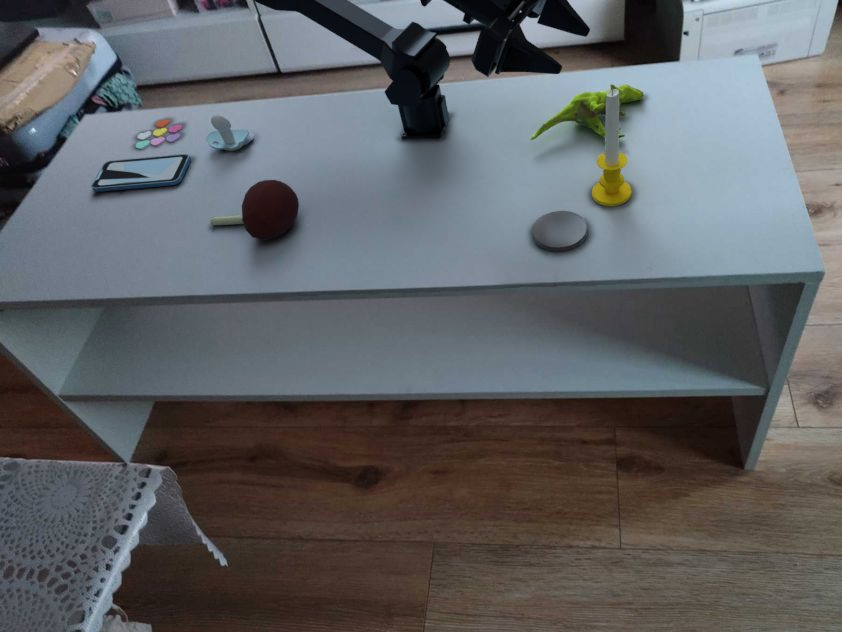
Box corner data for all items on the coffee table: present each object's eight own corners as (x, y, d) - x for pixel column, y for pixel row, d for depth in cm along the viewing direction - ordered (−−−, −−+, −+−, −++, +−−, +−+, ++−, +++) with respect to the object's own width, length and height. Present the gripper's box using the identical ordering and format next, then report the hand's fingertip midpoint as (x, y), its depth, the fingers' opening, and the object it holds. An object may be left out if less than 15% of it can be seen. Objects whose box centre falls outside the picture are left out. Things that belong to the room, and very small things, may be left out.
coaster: (529, 251, 90) (528, 246, 89) (536, 214, 94) (536, 210, 93) (584, 252, 88) (584, 248, 87) (589, 215, 92) (589, 211, 92)
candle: (597, 210, 93) (597, 104, 81) (587, 186, 96) (585, 81, 84) (636, 201, 92) (641, 94, 81) (624, 178, 96) (628, 72, 84)
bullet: (215, 221, 103) (265, 218, 102) (213, 227, 103) (263, 224, 101) (211, 215, 102) (262, 212, 101) (209, 221, 102) (260, 218, 100)
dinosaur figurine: (581, 175, 98) (580, 137, 93) (528, 150, 103) (524, 113, 98) (670, 107, 104) (673, 68, 100) (616, 86, 110) (616, 49, 105)
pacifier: (223, 134, 119) (207, 154, 115) (207, 100, 114) (191, 120, 110) (262, 133, 117) (247, 154, 113) (248, 99, 112) (232, 120, 109)
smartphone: (177, 181, 110) (88, 189, 112) (180, 186, 111) (92, 193, 113) (190, 153, 115) (105, 160, 117) (193, 157, 116) (108, 165, 117)
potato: (300, 215, 104) (315, 202, 99) (261, 255, 100) (275, 243, 95) (261, 177, 101) (275, 161, 96) (220, 216, 97) (232, 202, 92)
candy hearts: (134, 151, 120) (133, 150, 119) (141, 126, 125) (140, 124, 124) (179, 141, 120) (179, 139, 119) (184, 116, 125) (184, 115, 124)
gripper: (449, -37, 78) (570, 35, 77) (520, -105, 87) (628, -41, 87) (429, 45, 87) (536, 110, 87) (495, -24, 97) (592, 34, 96)
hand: (575, 51), depth 89 cm, fingers open, 9 cm apart
